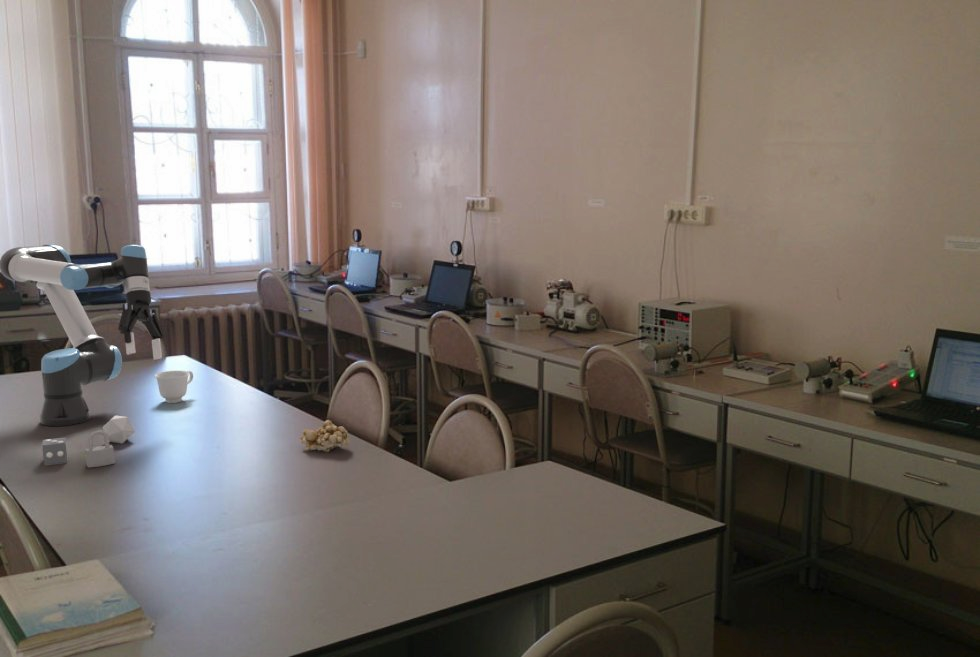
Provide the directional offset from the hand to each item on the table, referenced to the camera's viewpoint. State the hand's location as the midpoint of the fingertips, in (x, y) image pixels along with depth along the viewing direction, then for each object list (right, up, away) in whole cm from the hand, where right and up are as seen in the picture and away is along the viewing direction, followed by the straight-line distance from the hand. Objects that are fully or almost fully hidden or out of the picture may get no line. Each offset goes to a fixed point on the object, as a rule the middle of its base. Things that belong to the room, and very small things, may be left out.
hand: (144, 356), depth 289 cm
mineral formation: (+61, -28, -17) cm, 69 cm away
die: (-5, -26, -8) cm, 28 cm away
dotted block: (-15, -29, -27) cm, 43 cm away
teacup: (-4, -17, +42) cm, 46 cm away
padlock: (-1, -30, -31) cm, 43 cm away
